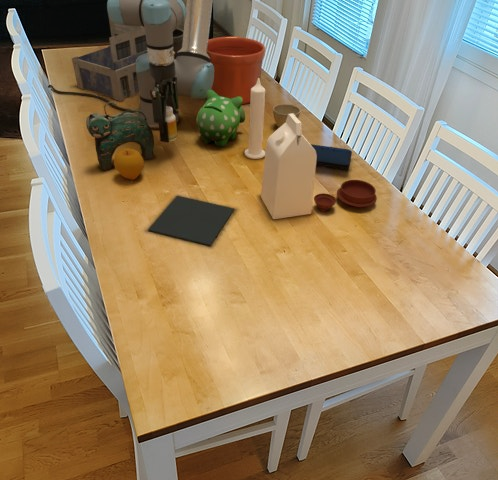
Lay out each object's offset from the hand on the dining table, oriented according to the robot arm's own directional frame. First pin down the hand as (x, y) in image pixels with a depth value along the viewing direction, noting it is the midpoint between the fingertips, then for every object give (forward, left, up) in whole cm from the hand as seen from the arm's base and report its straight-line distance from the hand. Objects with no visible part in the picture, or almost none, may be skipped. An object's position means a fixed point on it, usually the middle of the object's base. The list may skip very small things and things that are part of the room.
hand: (168, 136), depth 149 cm
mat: (+22, -31, -6) cm, 39 cm away
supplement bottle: (0, 0, -1) cm, 1 cm away
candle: (+26, +12, -7) cm, 29 cm away
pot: (+1, +58, -7) cm, 58 cm away
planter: (-36, +73, -7) cm, 81 cm away
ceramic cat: (-11, -10, -7) cm, 16 cm away
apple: (-5, -17, -7) cm, 19 cm away
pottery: (+60, -7, -7) cm, 61 cm away
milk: (+44, -14, -7) cm, 47 cm away
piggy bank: (+11, +18, -7) cm, 22 cm away
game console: (+50, +15, -7) cm, 53 cm away
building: (-47, +47, -7) cm, 66 cm away
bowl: (+30, +36, -7) cm, 47 cm away
